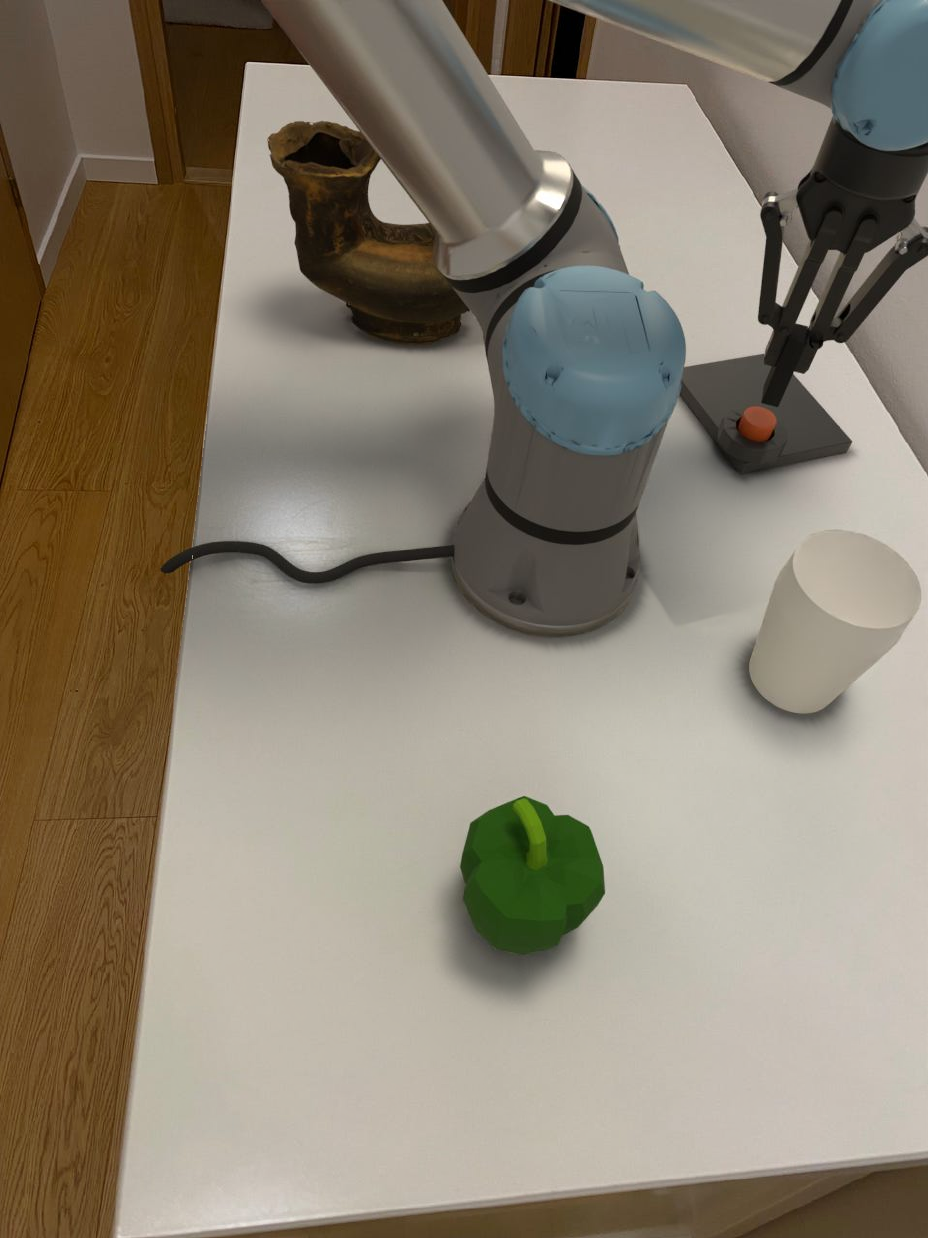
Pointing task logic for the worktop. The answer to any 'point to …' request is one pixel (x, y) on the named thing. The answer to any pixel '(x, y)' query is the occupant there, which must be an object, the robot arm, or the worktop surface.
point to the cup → (831, 618)
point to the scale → (739, 385)
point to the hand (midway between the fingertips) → (771, 395)
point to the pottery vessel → (360, 238)
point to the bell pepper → (529, 876)
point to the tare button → (757, 424)
